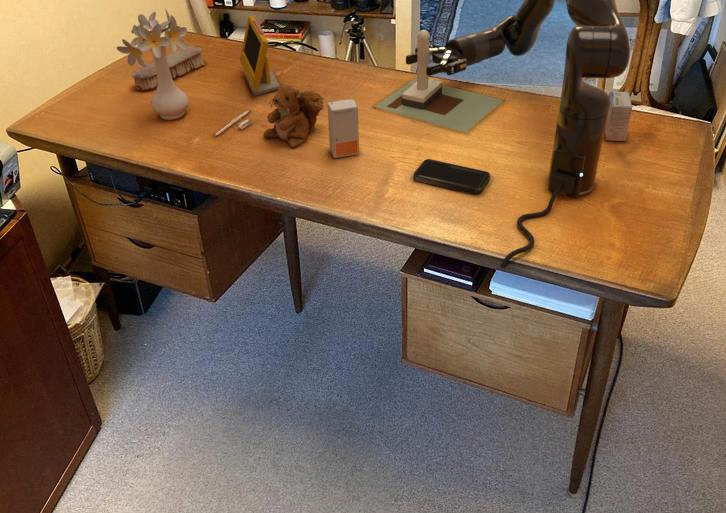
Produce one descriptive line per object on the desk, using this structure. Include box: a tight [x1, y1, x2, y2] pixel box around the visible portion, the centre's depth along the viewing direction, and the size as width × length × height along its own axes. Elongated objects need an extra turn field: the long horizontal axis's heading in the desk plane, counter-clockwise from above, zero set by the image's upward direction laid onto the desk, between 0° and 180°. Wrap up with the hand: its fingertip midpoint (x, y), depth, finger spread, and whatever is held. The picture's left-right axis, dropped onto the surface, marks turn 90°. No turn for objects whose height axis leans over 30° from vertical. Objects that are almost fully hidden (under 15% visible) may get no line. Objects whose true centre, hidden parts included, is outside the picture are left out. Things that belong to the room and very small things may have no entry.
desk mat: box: [373, 77, 504, 134], centre depth 178 cm, size 20×26×1 cm
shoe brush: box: [131, 45, 205, 91], centre depth 196 cm, size 24×8×5 cm, turn 146°
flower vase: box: [116, 8, 190, 121], centre depth 170 cm, size 13×18×25 cm
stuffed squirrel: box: [262, 81, 326, 149], centre depth 164 cm, size 10×14×13 cm
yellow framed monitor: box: [239, 14, 280, 97], centre depth 186 cm, size 20×8×16 cm, turn 17°
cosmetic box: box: [326, 98, 360, 159], centre depth 157 cm, size 6×4×12 cm
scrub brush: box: [402, 29, 443, 110], centre depth 174 cm, size 11×6×18 cm, turn 150°
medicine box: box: [604, 91, 633, 142], centre depth 160 cm, size 8×4×9 cm, turn 169°
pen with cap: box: [214, 109, 251, 137], centre depth 172 cm, size 14×4×2 cm, turn 153°
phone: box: [413, 158, 491, 195], centre depth 150 cm, size 8×1×15 cm
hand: (416, 66), depth 173 cm, fingers open, 8 cm apart
